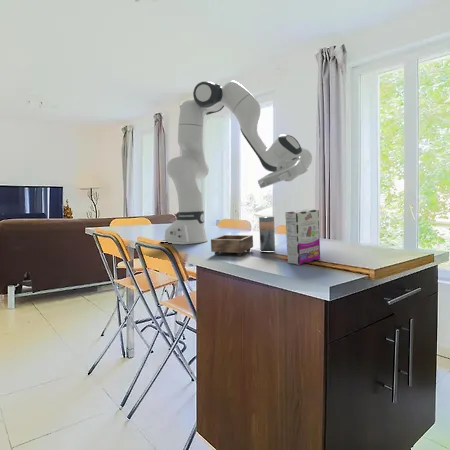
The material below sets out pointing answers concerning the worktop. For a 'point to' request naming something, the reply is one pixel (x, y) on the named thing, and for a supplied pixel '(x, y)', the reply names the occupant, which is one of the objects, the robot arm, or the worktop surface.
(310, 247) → the candy bar box
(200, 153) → the robot arm
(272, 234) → the slate tin
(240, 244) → the caster cart
